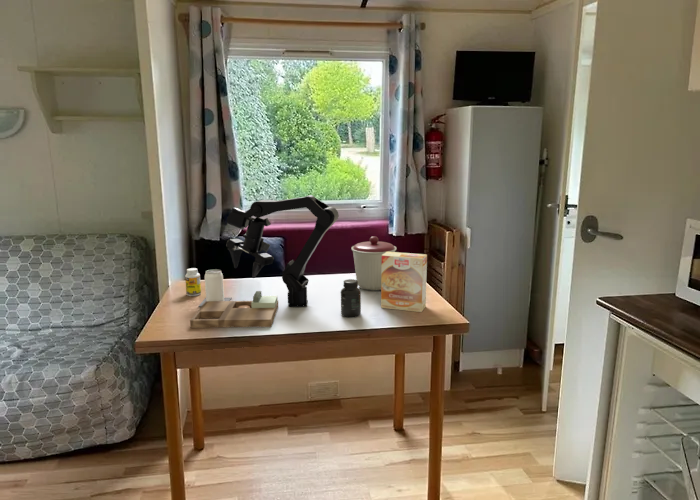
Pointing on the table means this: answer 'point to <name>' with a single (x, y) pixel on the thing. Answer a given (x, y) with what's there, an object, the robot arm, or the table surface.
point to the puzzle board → (232, 315)
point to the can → (214, 285)
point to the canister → (370, 262)
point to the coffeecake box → (403, 281)
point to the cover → (263, 301)
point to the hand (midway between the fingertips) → (244, 272)
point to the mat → (205, 301)
